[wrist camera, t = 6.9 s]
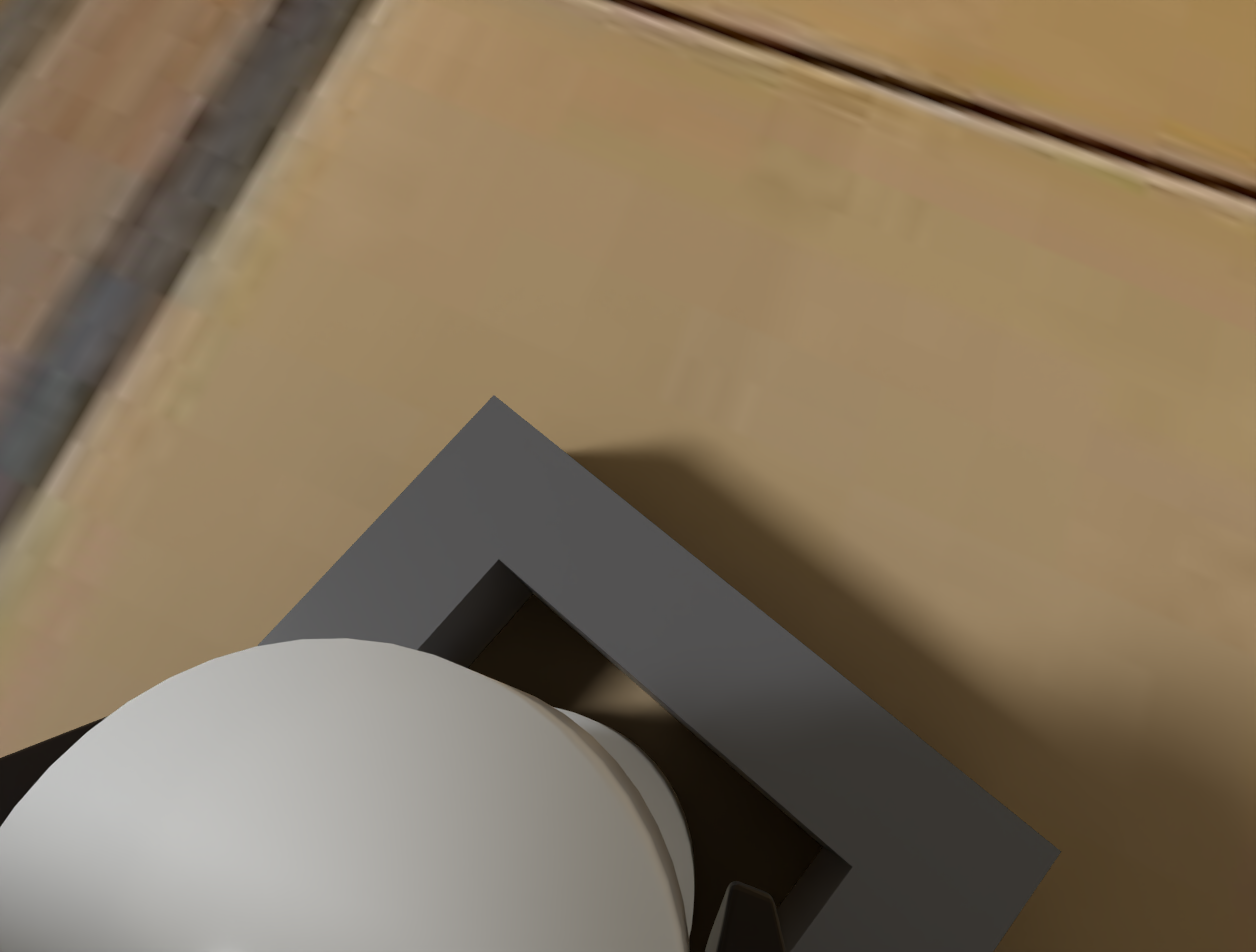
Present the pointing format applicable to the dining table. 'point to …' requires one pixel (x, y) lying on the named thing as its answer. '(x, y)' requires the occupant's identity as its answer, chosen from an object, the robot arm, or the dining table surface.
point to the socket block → (690, 683)
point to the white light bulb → (346, 818)
